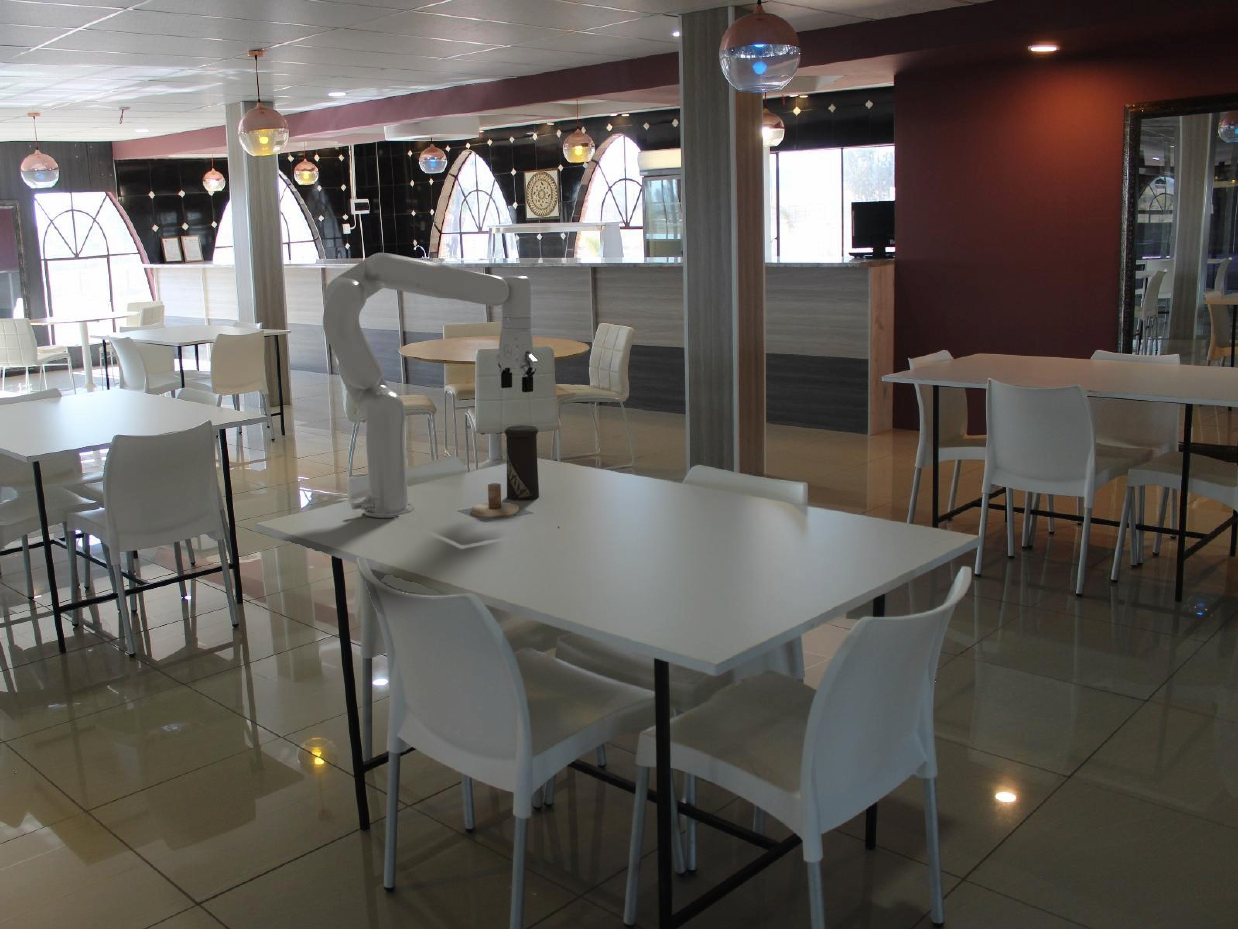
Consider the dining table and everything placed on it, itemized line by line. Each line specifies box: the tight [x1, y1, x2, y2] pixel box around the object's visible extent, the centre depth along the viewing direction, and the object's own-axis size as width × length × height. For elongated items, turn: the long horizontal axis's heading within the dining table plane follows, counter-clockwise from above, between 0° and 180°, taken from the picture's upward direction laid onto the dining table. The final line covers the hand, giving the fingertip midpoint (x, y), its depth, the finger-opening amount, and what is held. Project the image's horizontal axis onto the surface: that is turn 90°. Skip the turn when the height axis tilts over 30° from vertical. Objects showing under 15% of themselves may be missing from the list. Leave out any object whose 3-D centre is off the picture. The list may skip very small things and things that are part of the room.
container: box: [504, 424, 540, 502], centre depth 292 cm, size 9×9×20 cm
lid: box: [470, 482, 520, 518], centre depth 278 cm, size 12×12×7 cm
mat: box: [457, 507, 534, 523], centre depth 279 cm, size 14×14×1 cm
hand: (517, 389), depth 289 cm, fingers open, 9 cm apart
